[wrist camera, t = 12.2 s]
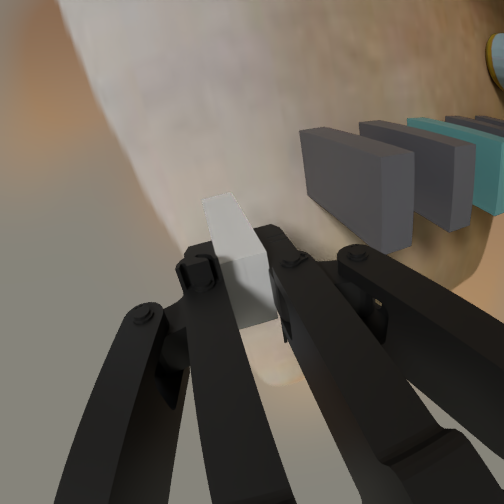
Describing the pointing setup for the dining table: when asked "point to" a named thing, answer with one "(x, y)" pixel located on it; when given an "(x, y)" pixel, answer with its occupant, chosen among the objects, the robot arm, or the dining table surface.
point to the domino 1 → (362, 185)
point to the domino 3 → (476, 125)
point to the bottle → (496, 58)
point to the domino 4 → (486, 165)
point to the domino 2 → (434, 171)
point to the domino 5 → (490, 120)
